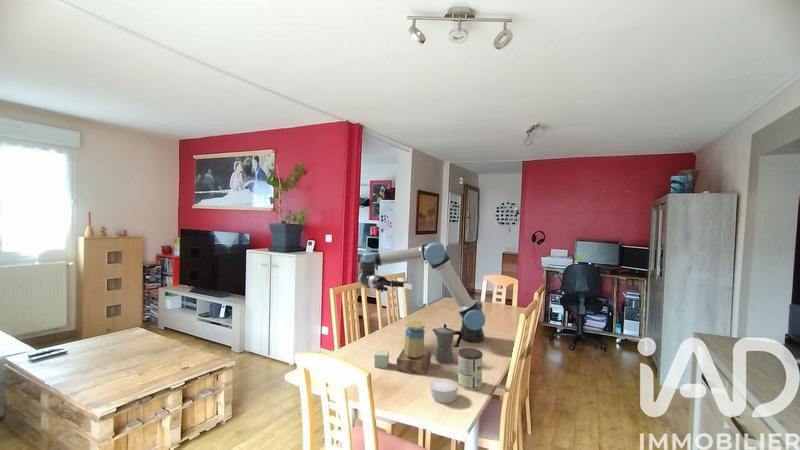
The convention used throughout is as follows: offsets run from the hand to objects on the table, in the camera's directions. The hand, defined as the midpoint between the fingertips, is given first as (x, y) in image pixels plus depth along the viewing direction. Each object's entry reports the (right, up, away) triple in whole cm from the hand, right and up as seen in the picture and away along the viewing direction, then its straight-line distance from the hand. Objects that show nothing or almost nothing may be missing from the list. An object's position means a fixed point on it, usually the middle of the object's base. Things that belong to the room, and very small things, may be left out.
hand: (402, 288), depth 179 cm
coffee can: (+29, -36, -30) cm, 55 cm away
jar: (+5, -30, -13) cm, 33 cm away
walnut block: (+6, -36, -13) cm, 38 cm away
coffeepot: (+22, -36, -4) cm, 42 cm away
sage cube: (-10, -35, -11) cm, 38 cm away
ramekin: (+16, -36, -41) cm, 57 cm away
